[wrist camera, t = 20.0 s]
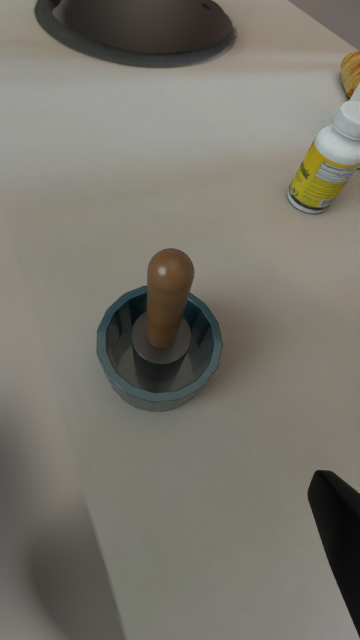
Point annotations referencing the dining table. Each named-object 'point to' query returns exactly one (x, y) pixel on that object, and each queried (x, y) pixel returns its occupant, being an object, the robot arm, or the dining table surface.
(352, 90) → the croissant
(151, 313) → the coffee tamper
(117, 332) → the teal faceted cup
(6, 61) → the dining table surface
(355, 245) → the dining table surface
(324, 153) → the supplement bottle
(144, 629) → the dining table surface
